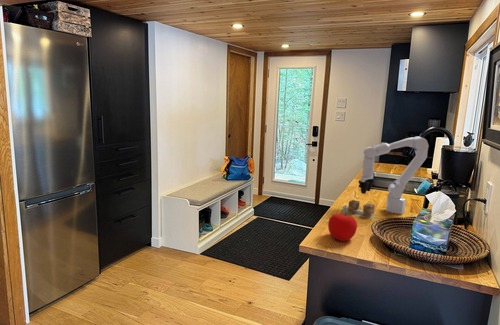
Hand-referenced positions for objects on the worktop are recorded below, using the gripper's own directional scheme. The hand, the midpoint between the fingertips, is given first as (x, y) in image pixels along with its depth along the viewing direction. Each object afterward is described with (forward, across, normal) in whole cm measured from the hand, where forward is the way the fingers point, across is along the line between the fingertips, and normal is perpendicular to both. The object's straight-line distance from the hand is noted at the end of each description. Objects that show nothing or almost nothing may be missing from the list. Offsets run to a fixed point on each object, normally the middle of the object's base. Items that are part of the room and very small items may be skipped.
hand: (365, 192), depth 189 cm
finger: (+9, +12, +6) cm, 17 cm away
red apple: (+10, +49, +7) cm, 51 cm away
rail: (+10, +12, +1) cm, 16 cm away
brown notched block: (+9, +12, -2) cm, 16 cm away
